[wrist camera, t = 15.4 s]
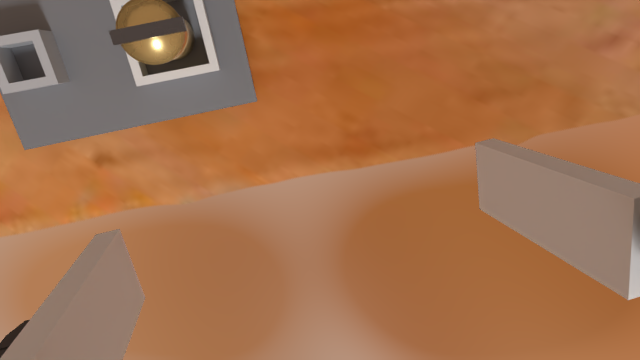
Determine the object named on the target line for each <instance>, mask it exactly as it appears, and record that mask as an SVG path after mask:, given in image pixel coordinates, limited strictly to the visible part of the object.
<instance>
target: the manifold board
mask: <svg viewBox="0 0 640 360" xmlns="http://www.w3.org/2000/svg"><path fill="white" fill-rule="evenodd" d="M128 1H130V0H0V93H1V95H2V97H3V100H4V102H5V104H6V107H7V109H8V111H9V114H10V116H11V119H12V121H13V123H14V126H15V128H16V130H17V133H18V135H19V138H20V140H21V142H22V145H23V147H24V149H25V150H27V149H32V148H37V147H41V146H46V145H51V144H56V143H60V142H65V141H70V140H75V139H79V138H84V137H89V136H94V135H99V134H103V133H108V132H113V131H118V130H122V129H127V128H132V127H137V126H141V125H146V124H151V123H156V122H161V121H165V120H170V119H175V118H180V117H184V116H189V115H194V114H199V113H203V112H208V111H213V110H218V109H223V108H227V107H232V106H237V105H242V104H246V103H251V102H256V101H257V98H256V94H255V89H254V85H253V81H252V76H251V72H250V67H249V63H248V59H247V54H246V50H245V46H244V41H243V37H242V33H241V28H240V24H239V20H238V15H237V11H236V7H235V2H234V0H162V1H164V2H166V3H167V4H169V5H170V6H171V7H172V8H173V9H175V11H176V12H177V13H178V14H179V15H180V16H182V17H183V18H184V19H185V20H186V21H187V22H188V23H189V24H190V26H191V27H192V29H193V32H194V36H195V42H194V46H193V49H192V50H191V52H190V53H189V54H188V55H187V56H186V57H184V58H182V59H177V60H171V61H169V62H167V63H164V64H158V65H150V64H145V63H142V62H139V61H137V60H135V59H134V58H132V57H131V56H130V55H129V54H127V53H126V51H125V50H124V49H123V48H122V46H121V45H117V46H116V45H113V42H112V39H111V37H110V34H109V31H110V30H115V29H116V19H117V15H118V13H119V11H120V10H121V8H122V7H123V6H124V5H125V4H126V3H127V2H128Z"/></svg>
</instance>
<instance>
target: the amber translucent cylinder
mask: <svg viewBox="0 0 640 360" xmlns="http://www.w3.org/2000/svg"><path fill="white" fill-rule="evenodd" d="M109 34H110V37H111V39H112V42H113V45H116V46H117V45H121V46H122V48H123V49H124V50H125V51H126V53H127V54H129V55H130V56H131V57H132V58H134V59H135V60H137V61H139V62H142V63H145V64H150V65H158V64H164V63H167V62H169V61H171V60H177V59H182V58H184V57H186V56H187V55H188V54H189V53H190V52H191V50H192V49H193V46H194V42H195V36H194V32H193V29H192V27H191V26H190V24H189V23H188V22H187V21H186V20H185V19H184V18H183V17H182V16H180V15H179V14H178V13H177V12H176V11H175V9H173V8H172V7H171V6H170V5H169V4H167V3H166V2H164V1H162V0H130V1H128V2H127V3H126V4H125V5H124V6H123V7H122V8H121V10H120V11H119V13H118V15H117V19H116V29H115V30H110V31H109Z"/></svg>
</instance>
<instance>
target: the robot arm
mask: <svg viewBox="0 0 640 360" xmlns="http://www.w3.org/2000/svg"><path fill="white" fill-rule="evenodd" d="M475 147H476V161H477V176H478V191H479V205H480V210H482V211H484V212H485V213H487V214H489V215H490V216H492V217H493V218H495V219H497V220H498V221H500V222H502V223H503V224H505V225H507V226H508V227H510V228H511V229H513V230H515V231H516V232H518V233H520V234H521V235H523V236H525V237H526V238H528V239H529V240H531V241H533V242H534V243H536V244H538V245H539V246H541V247H543V248H544V249H546V250H547V251H549V252H551V253H552V254H554V255H556V256H557V257H559V258H561V259H562V260H564V261H565V262H567V263H569V264H571V265H572V266H574V267H575V268H577V269H578V270H580V271H582V272H583V273H585V274H587V275H588V276H590V277H592V278H593V279H595V280H597V281H598V282H600V283H601V284H603V285H605V286H606V287H608V288H610V289H611V290H613V291H615V292H616V293H618V294H619V295H621V296H623V297H624V298H626V299H627V300H630V299H633V298H636V297H640V184H639V183H636V182H633V181H630V180H626V179H623V178H620V177H617V176H613V175H610V174H607V173H604V172H601V171H597V170H594V169H591V168H588V167H584V166H581V165H578V164H574V163H571V162H568V161H565V160H561V159H559V158H555V157H552V156H549V155H545V154H542V153H539V152H536V151H533V150H529V149H526V148H523V147H520V146H516V145H513V144H510V143H507V142H503V141H500V140H497V139H494V138H493V139H489V140H485V141H481V142H477V143H475ZM144 300H145V296H144V294H143V291H142V288H141V286H140V283H139V280H138V278H137V275H136V272H135V270H134V267H133V264H132V261H131V259H130V256H129V253H128V251H127V248H126V245H125V243H124V240H123V237H122V234H121V232H120V229H117V230H113V231H109V232H105V233H101V234H97V235H95V237H94V238H93V239H92V240H91V242H90V243H89V244H88V246H87V247H86V248H85V249H84V251H83V252H82V253H81V255H80V256H79V257H78V258H77V260H76V261H75V262H74V264H73V265H72V266H71V267H70V269H69V270H68V271H67V273H66V274H65V275H64V277H63V278H62V279H61V280H60V282H59V283H58V284H57V286H56V287H55V288H54V290H53V291H52V292H51V293H50V295H49V296H48V297H47V299H46V300H45V301H44V302H43V304H42V305H41V306H40V308H39V309H38V310H37V311H36V313H35V314H34V315H33V317H32V318H31V319H30V320H27V321H24V322H23V323H22V324H20V325H19V326H18V327H17V328H15V329H14V330H13V331H12V332H10V333H9V334H8V335H6V337H5V338H4V339H3V340H2V342H1V343H0V360H123V357H124V354H125V352H126V349H127V346H128V343H129V341H130V338H131V335H132V332H133V330H134V327H135V324H136V322H137V319H138V316H139V313H140V310H141V308H142V305H143V302H144Z"/></svg>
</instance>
